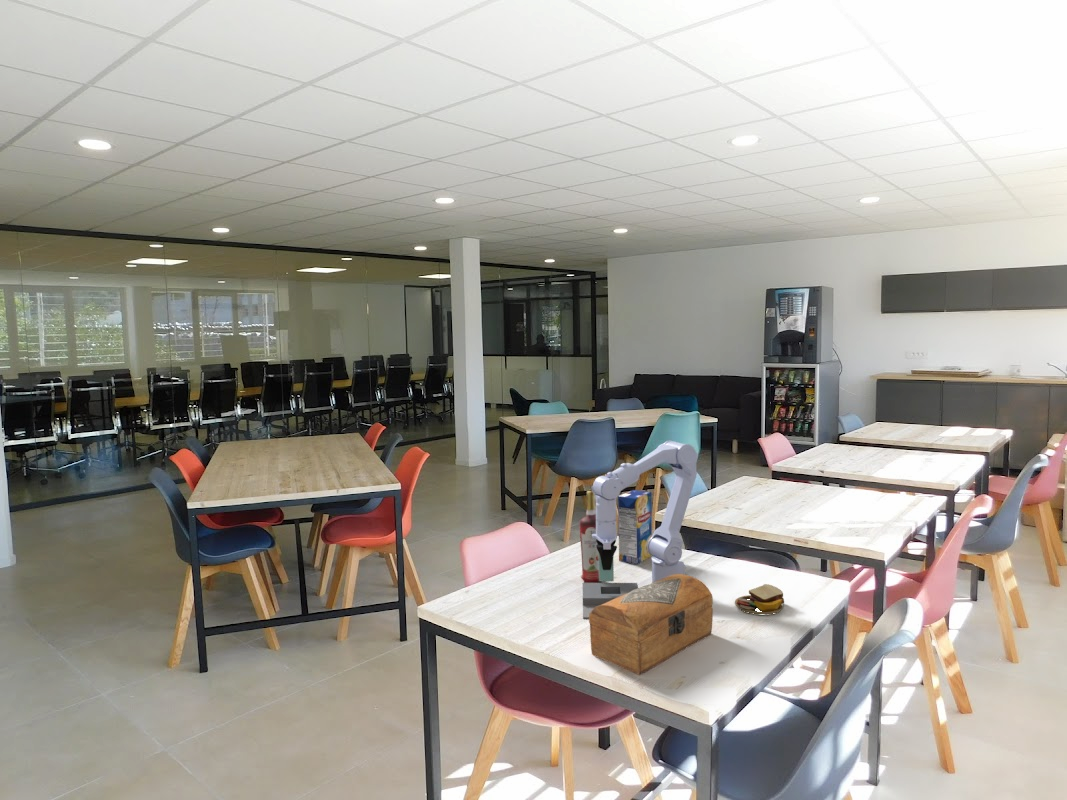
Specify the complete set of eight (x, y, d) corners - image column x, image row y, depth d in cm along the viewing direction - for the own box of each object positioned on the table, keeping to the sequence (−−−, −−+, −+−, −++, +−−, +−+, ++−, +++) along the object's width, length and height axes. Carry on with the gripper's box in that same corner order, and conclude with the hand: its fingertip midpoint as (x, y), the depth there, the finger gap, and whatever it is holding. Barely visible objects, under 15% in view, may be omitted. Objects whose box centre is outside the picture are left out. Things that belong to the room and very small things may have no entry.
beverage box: (618, 561, 229) (618, 496, 227) (633, 552, 238) (633, 489, 236) (637, 564, 225) (636, 498, 223) (652, 555, 234) (651, 492, 232)
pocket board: (637, 591, 202) (637, 582, 202) (640, 607, 190) (640, 598, 190) (582, 590, 203) (582, 582, 203) (582, 606, 191) (582, 598, 191)
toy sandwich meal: (726, 602, 193) (726, 585, 193) (769, 597, 196) (769, 580, 196) (749, 619, 181) (749, 602, 181) (795, 614, 184) (795, 596, 184)
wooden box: (642, 678, 151) (642, 617, 150) (587, 654, 164) (586, 597, 162) (718, 636, 171) (718, 582, 170) (664, 617, 184) (664, 566, 182)
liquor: (604, 577, 214) (603, 489, 212) (604, 585, 207) (603, 494, 204) (580, 577, 215) (579, 489, 212) (579, 585, 208) (578, 494, 205)
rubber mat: (611, 606, 191) (611, 605, 191) (613, 618, 183) (613, 617, 183) (582, 606, 191) (582, 605, 191) (583, 618, 183) (582, 617, 183)
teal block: (613, 576, 195) (612, 548, 195) (613, 581, 191) (613, 553, 191) (598, 576, 196) (598, 548, 195) (599, 581, 192) (598, 553, 191)
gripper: (591, 512, 199) (591, 558, 201) (592, 526, 185) (592, 575, 186) (615, 512, 199) (616, 558, 200) (618, 526, 185) (618, 575, 186)
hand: (606, 566), depth 193 cm, fingers closed on teal block, 4 cm apart
